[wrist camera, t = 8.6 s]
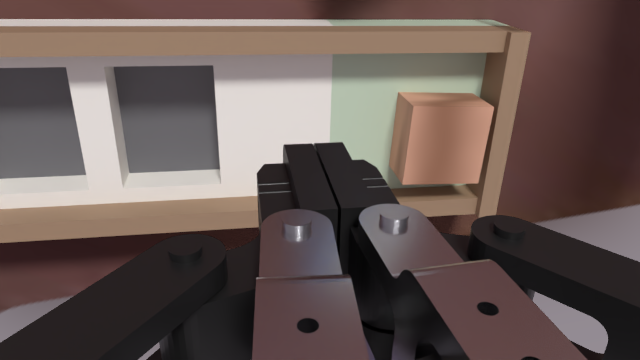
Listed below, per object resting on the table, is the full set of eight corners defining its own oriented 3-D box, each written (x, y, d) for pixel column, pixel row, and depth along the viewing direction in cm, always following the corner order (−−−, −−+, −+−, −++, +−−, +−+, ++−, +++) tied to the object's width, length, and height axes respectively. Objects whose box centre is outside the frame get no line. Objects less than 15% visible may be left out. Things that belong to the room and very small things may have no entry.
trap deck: (491, 19, 34) (531, 32, 29) (464, 183, 39) (495, 216, 34) (-73, 19, 28) (-128, 34, 24) (-17, 209, 34) (-55, 250, 29)
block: (472, 93, 33) (494, 107, 30) (459, 164, 35) (478, 183, 32) (398, 91, 32) (413, 106, 29) (388, 165, 34) (402, 184, 32)
